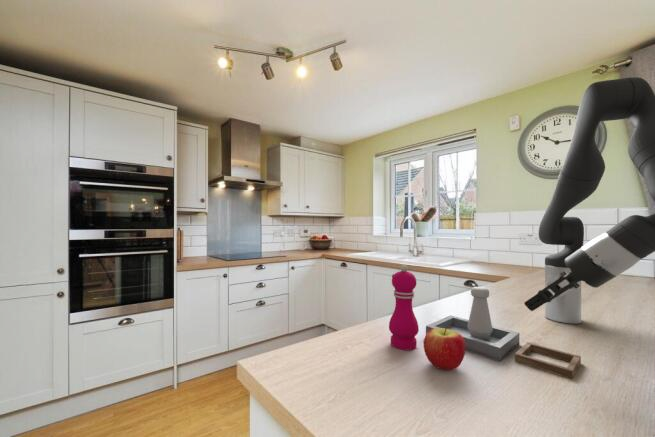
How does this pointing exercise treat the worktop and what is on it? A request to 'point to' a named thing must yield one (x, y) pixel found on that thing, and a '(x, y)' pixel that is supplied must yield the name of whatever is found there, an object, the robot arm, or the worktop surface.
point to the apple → (444, 348)
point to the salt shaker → (480, 314)
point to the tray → (492, 348)
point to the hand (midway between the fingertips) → (533, 303)
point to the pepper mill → (403, 311)
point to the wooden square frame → (567, 372)
